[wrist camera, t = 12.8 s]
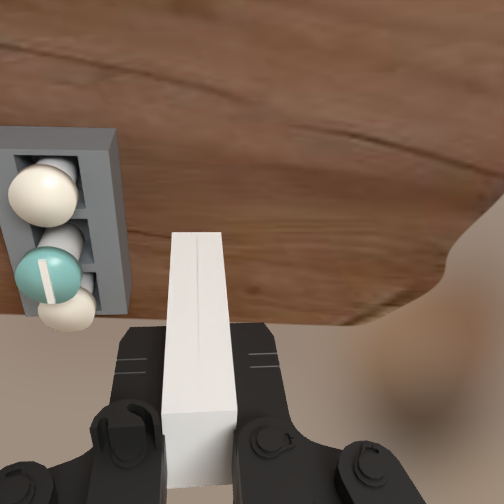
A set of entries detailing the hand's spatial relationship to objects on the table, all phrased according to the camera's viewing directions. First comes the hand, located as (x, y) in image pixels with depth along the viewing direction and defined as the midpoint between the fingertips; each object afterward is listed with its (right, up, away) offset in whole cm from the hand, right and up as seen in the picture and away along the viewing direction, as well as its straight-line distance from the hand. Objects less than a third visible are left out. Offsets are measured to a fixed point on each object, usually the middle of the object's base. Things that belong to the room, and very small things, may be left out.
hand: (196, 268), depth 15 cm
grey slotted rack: (-16, +4, +32) cm, 36 cm away
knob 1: (-15, +8, +28) cm, 33 cm away
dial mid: (-16, +2, +29) cm, 33 cm away
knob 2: (-16, -2, +34) cm, 38 cm away
